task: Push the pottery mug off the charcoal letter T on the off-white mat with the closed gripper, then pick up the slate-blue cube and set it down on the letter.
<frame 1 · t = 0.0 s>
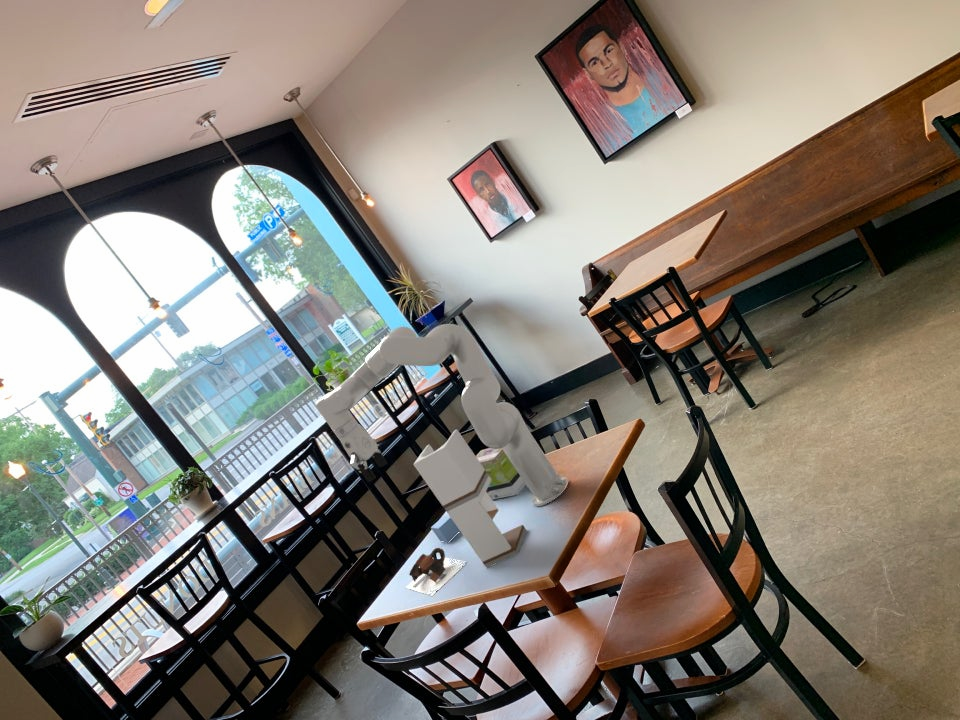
hand: (378, 472, 229), 31 cm above the table, tool pointing down, fingers open, 9 cm apart
notched white pillar: (507, 549, 200), on the table
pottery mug: (435, 575, 214), resting on letter mat
tea box: (511, 490, 241), on the table
letter mat: (435, 575, 214), on the table
slate blue cube: (451, 536, 235), on the table
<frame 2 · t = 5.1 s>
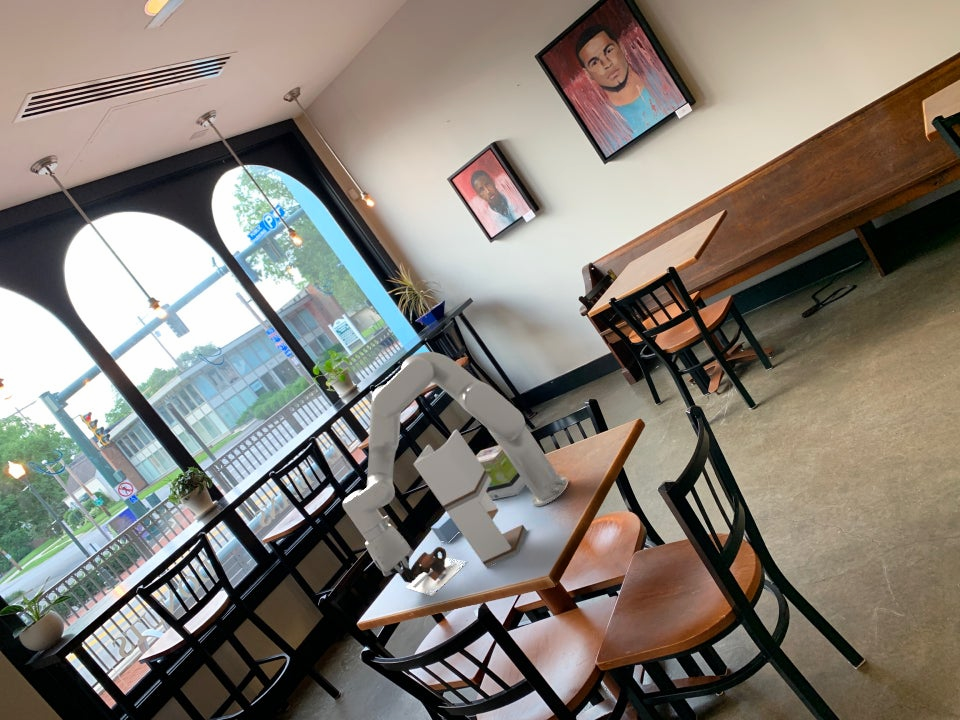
hand: (411, 580, 210), 4 cm above the table, tool pointing down, fingers closed
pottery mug: (436, 574, 214), resting on letter mat, touching gripper
everything else where it was.
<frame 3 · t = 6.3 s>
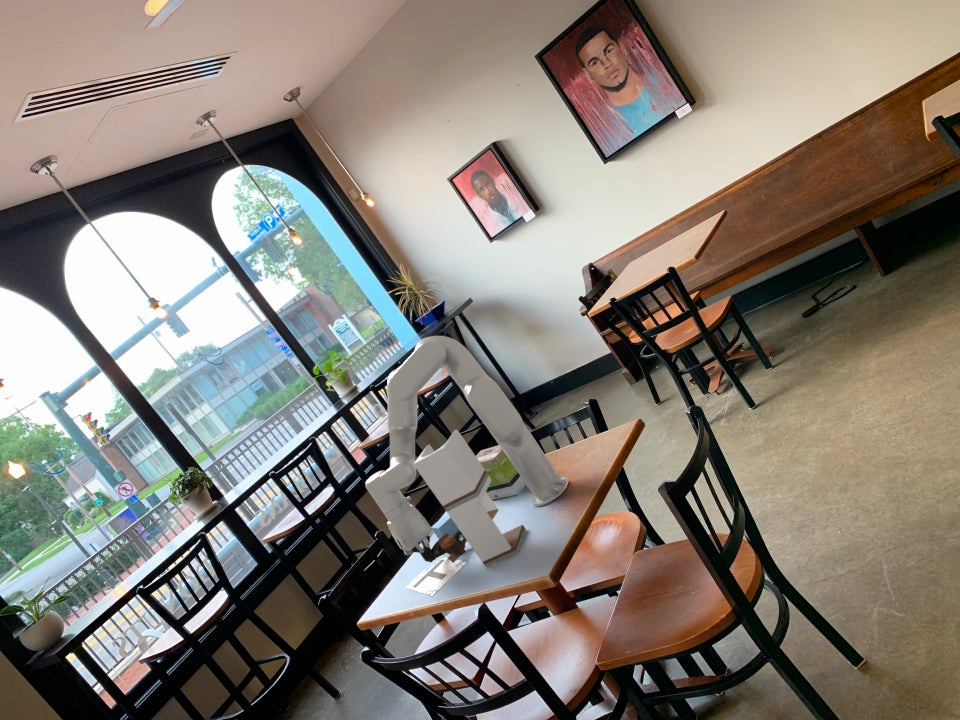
hand: (431, 560, 214), 4 cm above the table, tool pointing down, fingers closed
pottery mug: (456, 556, 217), on the table, touching gripper
everything else where it was.
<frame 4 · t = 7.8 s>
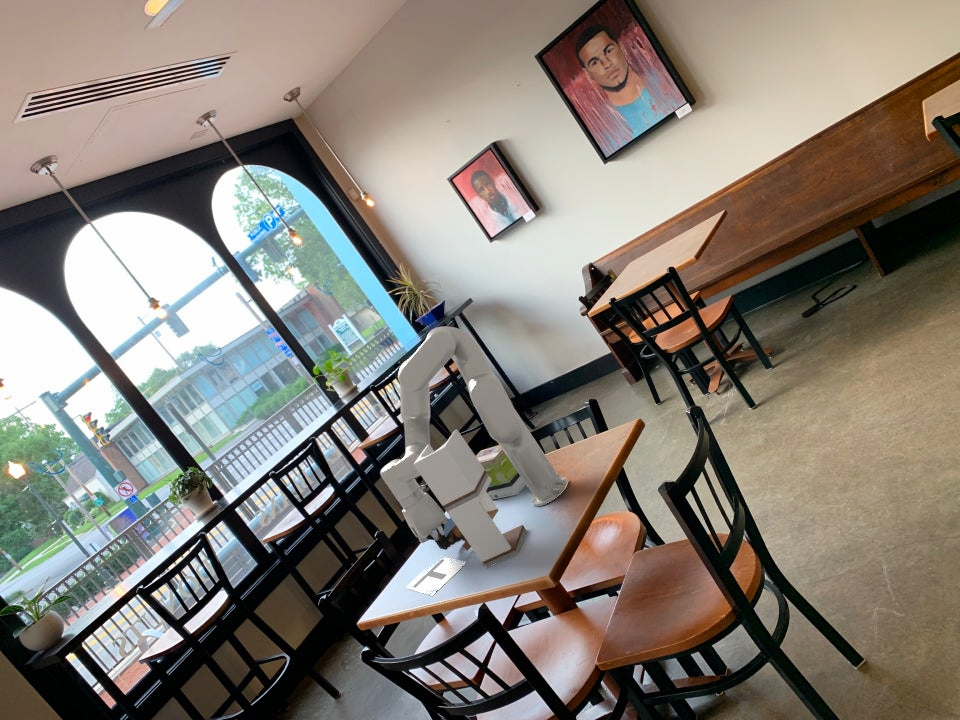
hand: (446, 547, 217), 4 cm above the table, tool pointing down, fingers closed
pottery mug: (471, 543, 219), on the table, touching gripper
everything else where it was.
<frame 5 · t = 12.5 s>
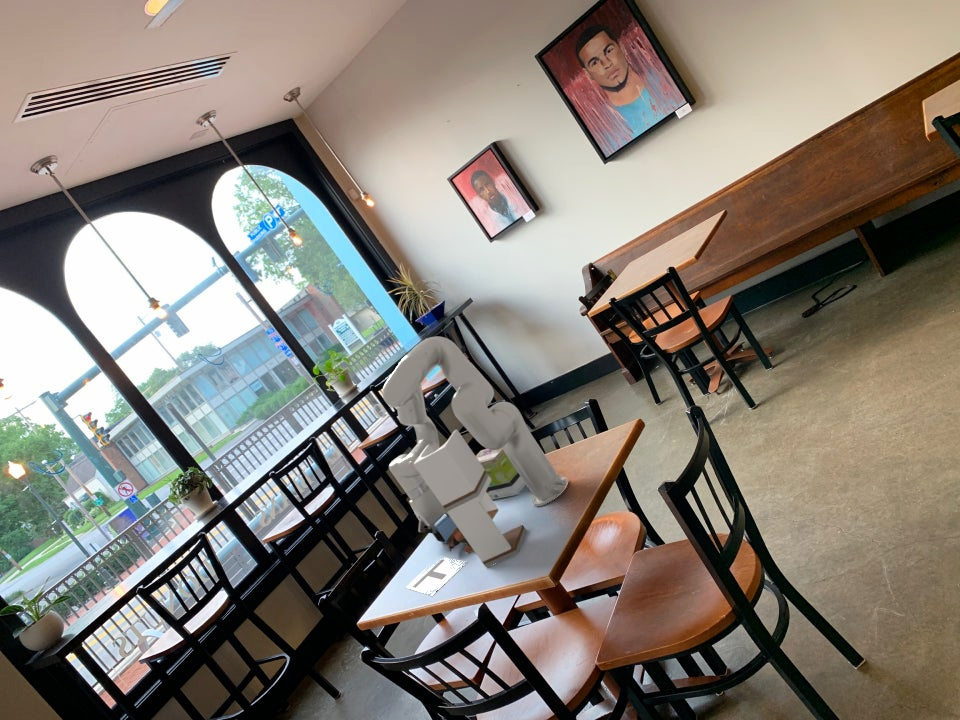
hand: (449, 533, 235), 1 cm above the table, tool pointing down, fingers closed on slate blue cube, 6 cm apart
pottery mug: (471, 546, 218), on the table
slate blue cube: (451, 536, 235), on the table, touching gripper
everything else where it was.
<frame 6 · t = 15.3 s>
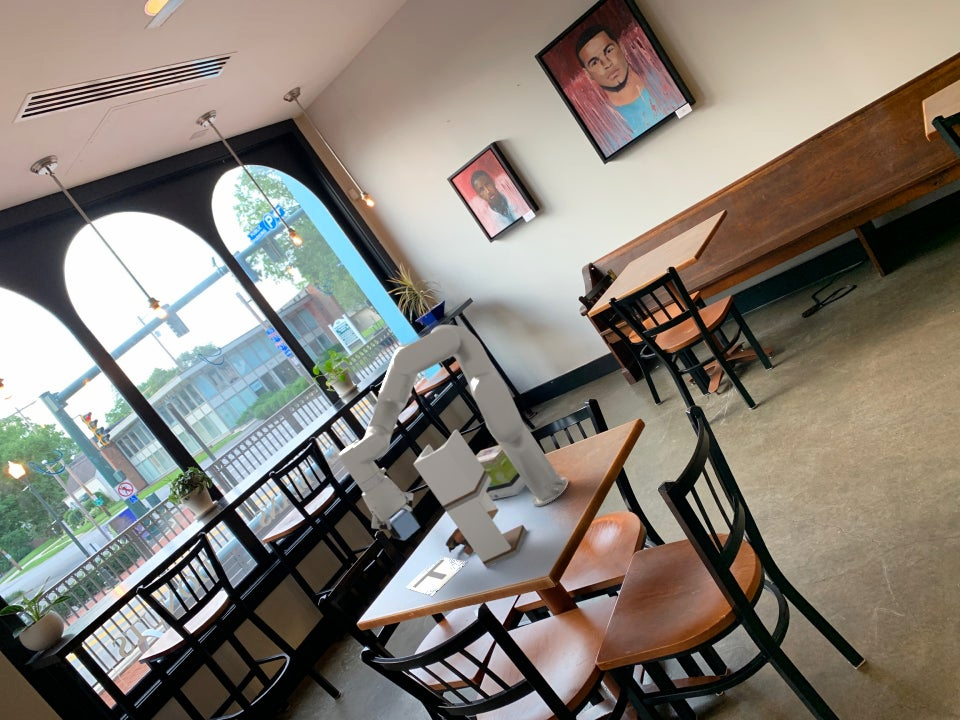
hand: (407, 530, 213), 16 cm above the table, tool pointing down, fingers closed on slate blue cube, 6 cm apart
slate blue cube: (408, 533, 213), point 15 cm above the table, touching gripper
everything else where it was.
when the fingers open (3 cm above the table, at t = 18.5 s): slate blue cube drops 1 cm, resting on letter mat.
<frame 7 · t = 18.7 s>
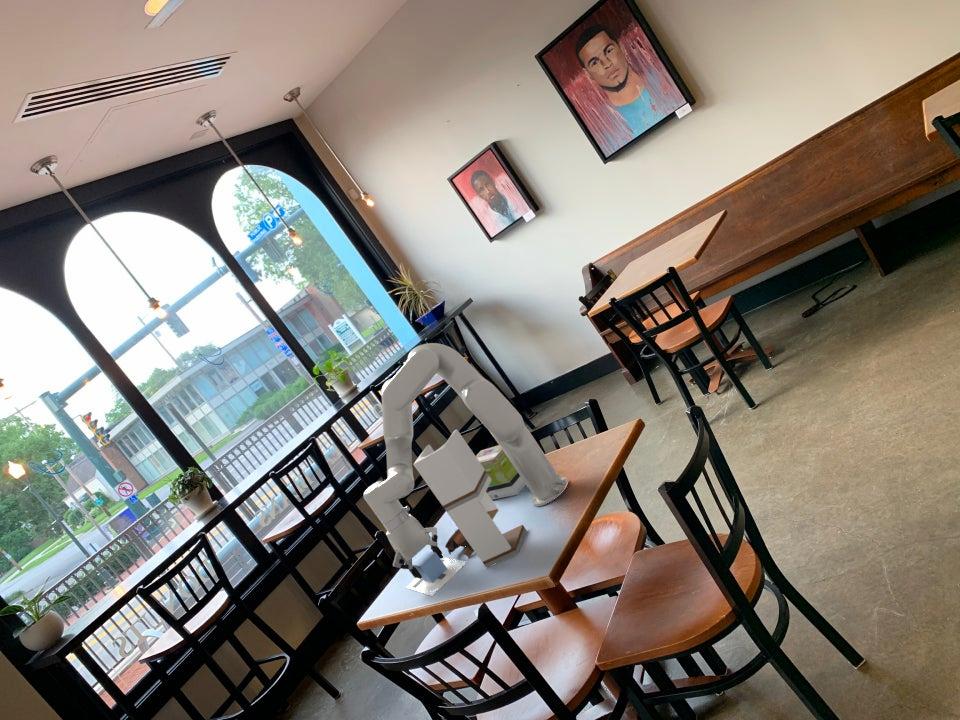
hand: (430, 567, 213), 3 cm above the table, tool pointing down, fingers open, 8 cm apart
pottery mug: (471, 549, 216), on the table
slate blue cube: (435, 574, 214), resting on letter mat
everything else where it was.
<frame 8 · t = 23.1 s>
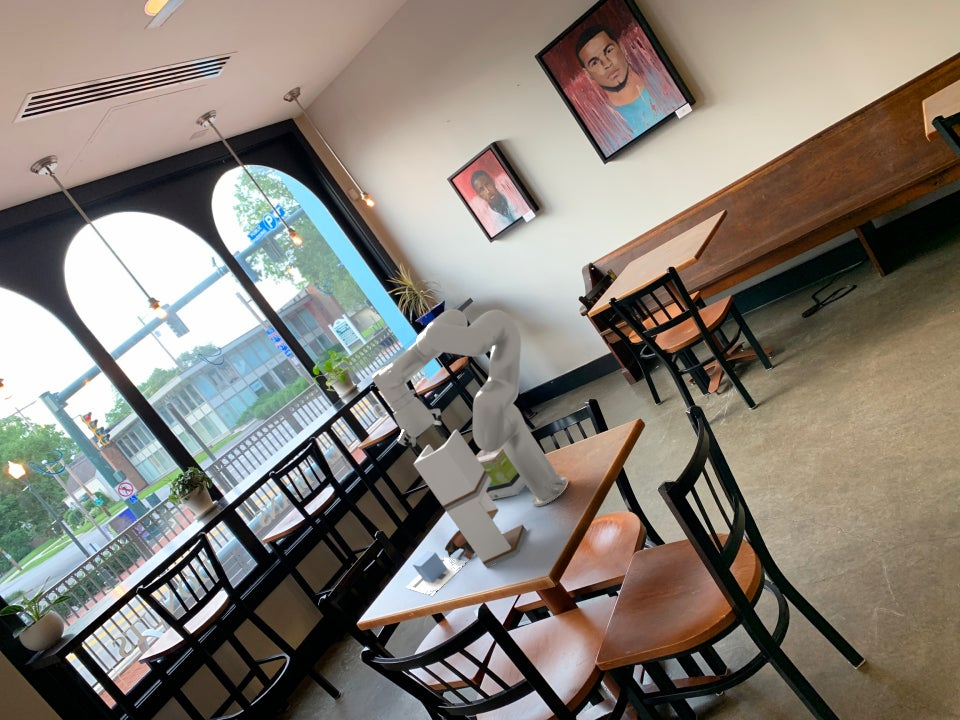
hand: (433, 445, 230), 28 cm above the table, tool pointing down, fingers open, 9 cm apart
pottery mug: (471, 551, 215), on the table
everything else where it was.
at the end: slate blue cube 0.1 cm off-centre on the letter mat, point 0.2 cm above the letter mat's base; slate blue cube tilted 0°; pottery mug touching table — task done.
